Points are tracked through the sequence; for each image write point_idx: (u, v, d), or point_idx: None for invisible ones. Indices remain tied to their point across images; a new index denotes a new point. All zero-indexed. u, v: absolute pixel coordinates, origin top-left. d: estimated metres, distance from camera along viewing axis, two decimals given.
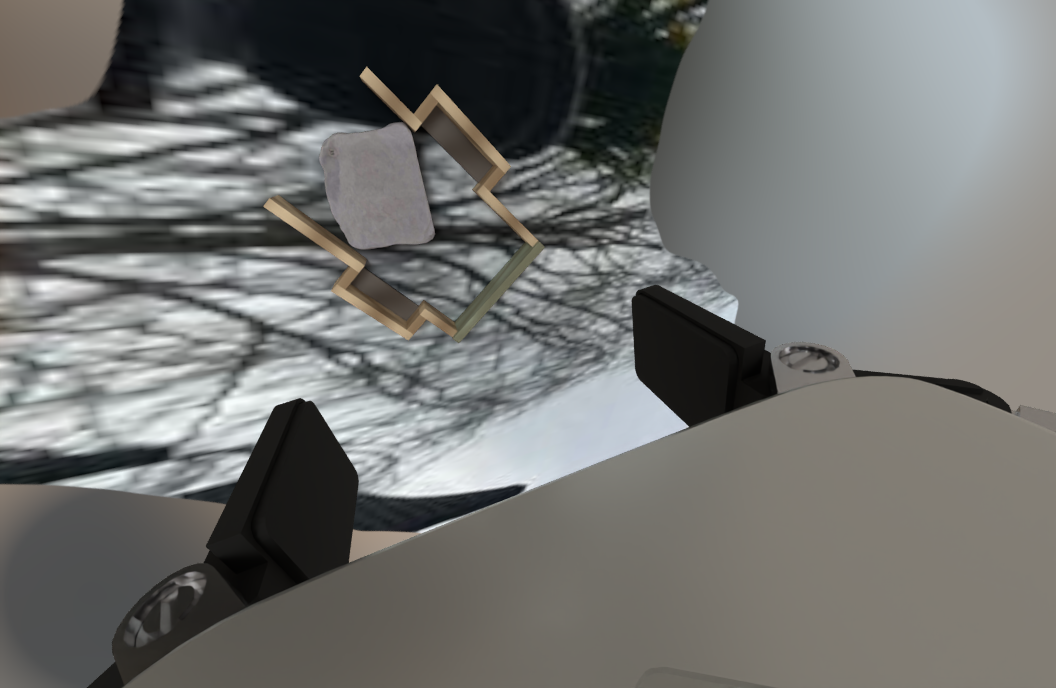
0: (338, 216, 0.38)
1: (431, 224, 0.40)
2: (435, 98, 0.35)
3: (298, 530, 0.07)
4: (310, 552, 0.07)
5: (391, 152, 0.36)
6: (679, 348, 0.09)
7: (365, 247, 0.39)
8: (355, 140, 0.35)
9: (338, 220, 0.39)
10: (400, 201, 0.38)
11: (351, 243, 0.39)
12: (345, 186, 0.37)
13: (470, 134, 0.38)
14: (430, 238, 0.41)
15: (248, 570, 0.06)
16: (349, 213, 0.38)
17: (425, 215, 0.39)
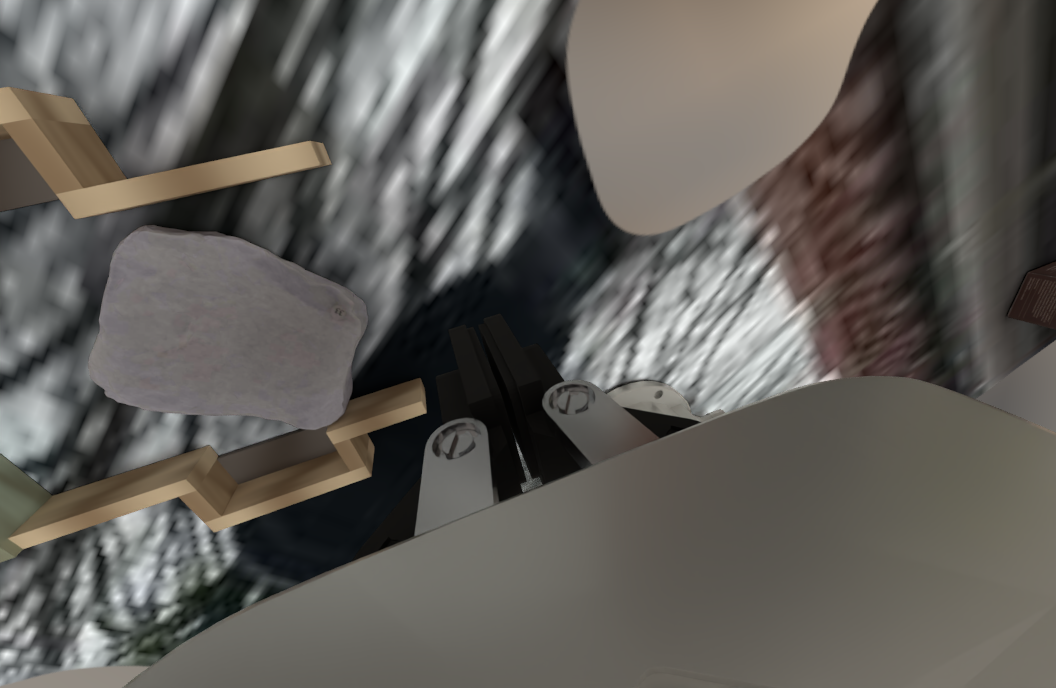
0: (221, 246, 0.18)
1: (132, 404, 0.19)
2: (355, 469, 0.25)
3: None
4: None
5: (302, 395, 0.21)
6: (499, 379, 0.09)
7: (115, 261, 0.17)
8: (340, 358, 0.21)
9: (213, 240, 0.18)
10: (204, 375, 0.19)
11: (142, 235, 0.17)
12: (275, 298, 0.19)
13: (289, 494, 0.24)
14: None
15: (486, 430, 0.08)
16: (216, 273, 0.18)
17: (155, 404, 0.19)
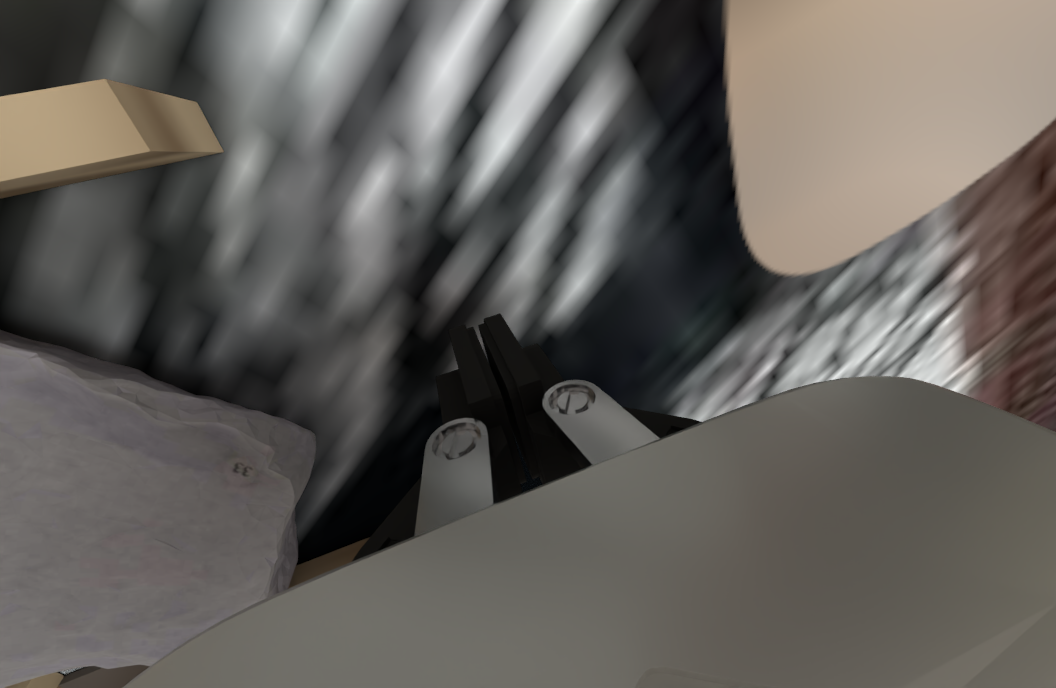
0: None
1: None
2: None
3: None
4: None
5: (177, 627, 0.11)
6: (499, 379, 0.09)
7: None
8: (250, 557, 0.10)
9: None
10: None
11: None
12: (82, 463, 0.09)
13: None
14: None
15: (486, 430, 0.08)
16: None
17: None
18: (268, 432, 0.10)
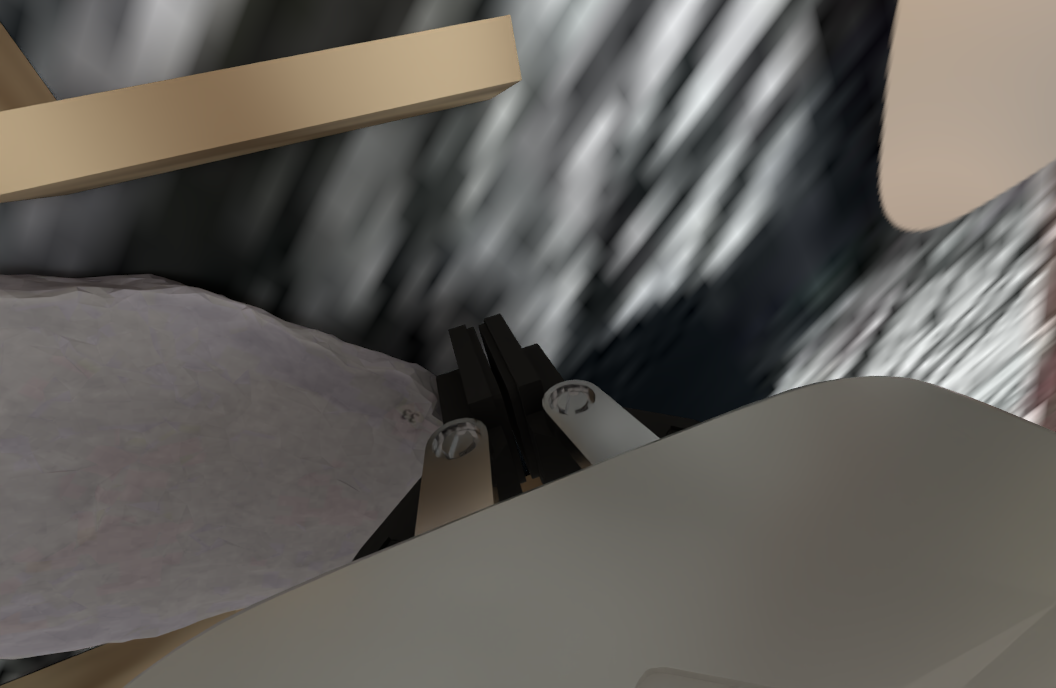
0: (156, 312, 0.08)
1: None
2: None
3: None
4: None
5: None
6: (499, 379, 0.09)
7: None
8: None
9: (135, 300, 0.08)
10: (147, 577, 0.09)
11: None
12: (283, 407, 0.09)
13: None
14: None
15: (486, 430, 0.08)
16: (149, 374, 0.08)
17: (48, 649, 0.09)
18: (428, 382, 0.11)
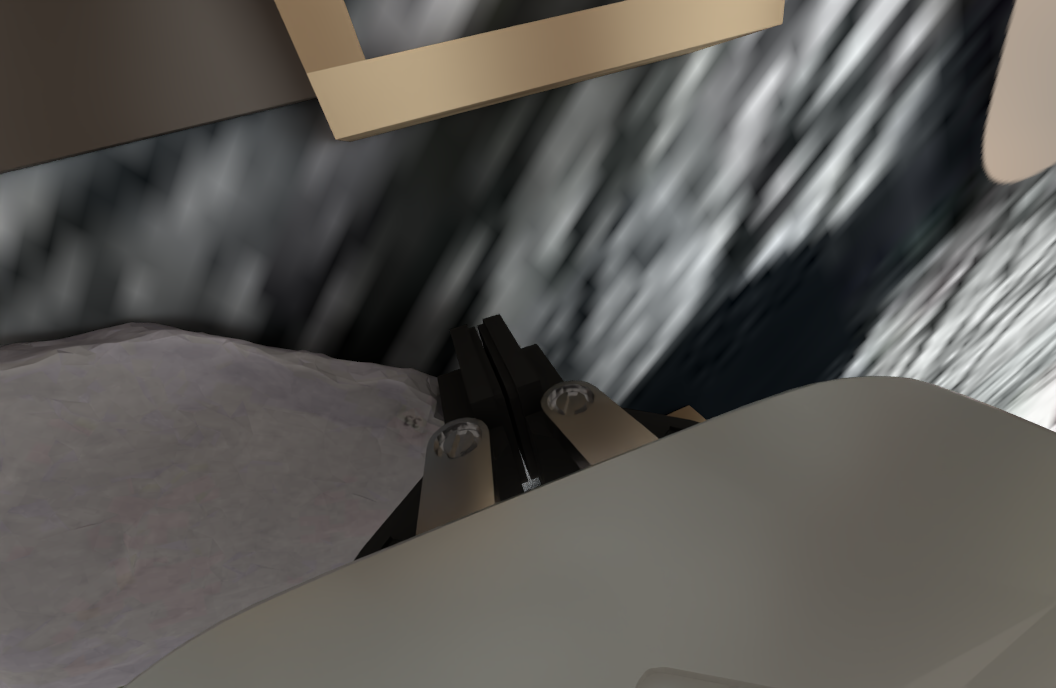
0: (139, 360, 0.08)
1: None
2: None
3: None
4: None
5: None
6: (498, 380, 0.09)
7: None
8: None
9: (116, 353, 0.08)
10: (193, 608, 0.10)
11: None
12: (284, 433, 0.09)
13: None
14: None
15: (488, 430, 0.08)
16: (146, 422, 0.08)
17: (121, 681, 0.10)
18: (425, 385, 0.10)
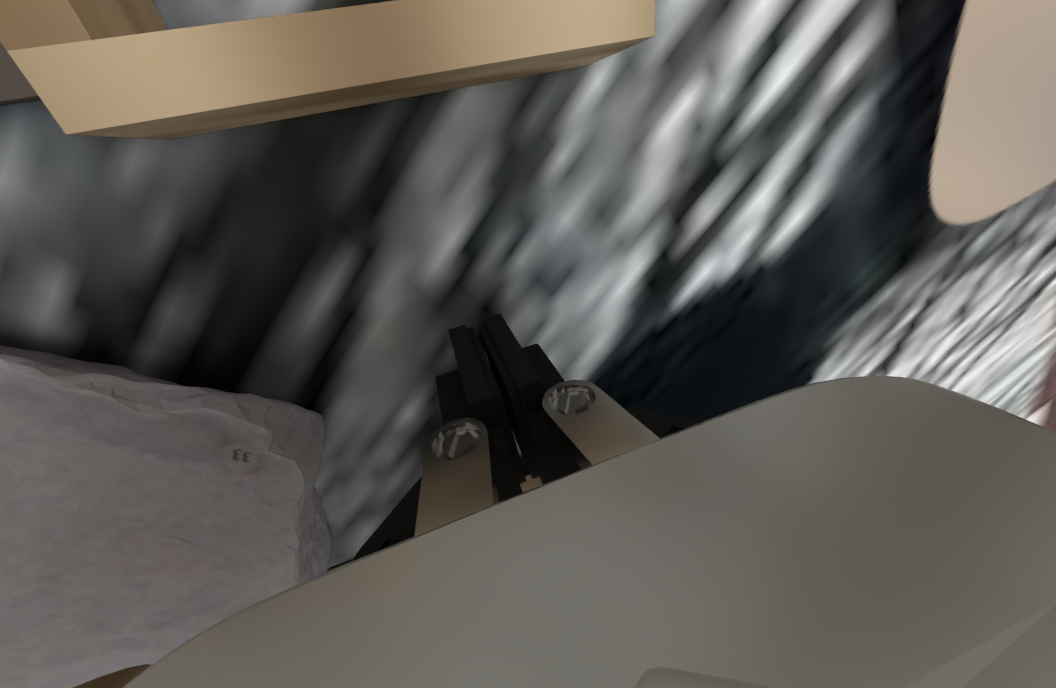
0: None
1: None
2: None
3: None
4: None
5: (215, 620, 0.10)
6: (499, 379, 0.09)
7: None
8: (269, 545, 0.10)
9: None
10: None
11: None
12: (74, 465, 0.08)
13: None
14: None
15: (486, 430, 0.08)
16: None
17: None
18: (262, 414, 0.09)
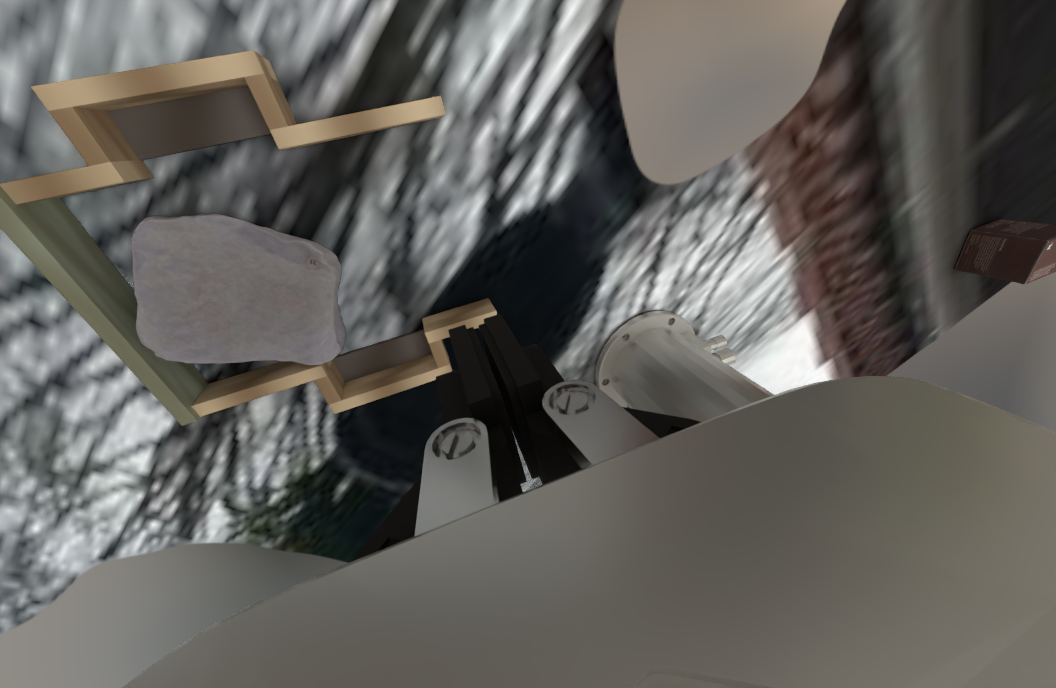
0: (208, 223, 0.23)
1: (177, 360, 0.25)
2: (442, 366, 0.31)
3: None
4: None
5: (302, 336, 0.27)
6: (499, 379, 0.09)
7: (133, 246, 0.22)
8: (323, 300, 0.26)
9: (201, 219, 0.23)
10: (222, 329, 0.25)
11: (147, 223, 0.22)
12: (260, 259, 0.24)
13: (392, 385, 0.31)
14: None
15: (486, 430, 0.08)
16: (210, 245, 0.23)
17: (193, 357, 0.25)
18: (320, 248, 0.25)
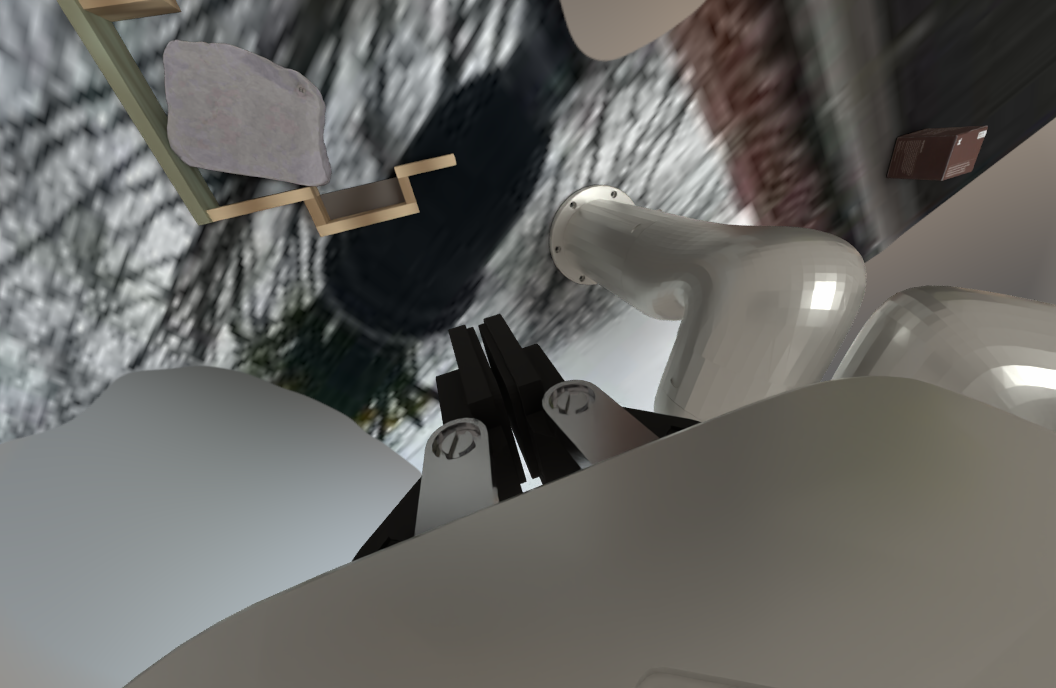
0: (220, 49, 0.30)
1: (198, 165, 0.32)
2: (410, 203, 0.38)
3: None
4: None
5: (294, 156, 0.34)
6: (499, 379, 0.09)
7: (165, 59, 0.29)
8: (310, 123, 0.33)
9: (214, 46, 0.30)
10: (232, 140, 0.32)
11: (175, 43, 0.29)
12: (260, 83, 0.31)
13: (368, 215, 0.37)
14: (178, 155, 0.32)
15: (486, 430, 0.08)
16: (221, 66, 0.30)
17: (210, 162, 0.32)
18: (306, 79, 0.32)
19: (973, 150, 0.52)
